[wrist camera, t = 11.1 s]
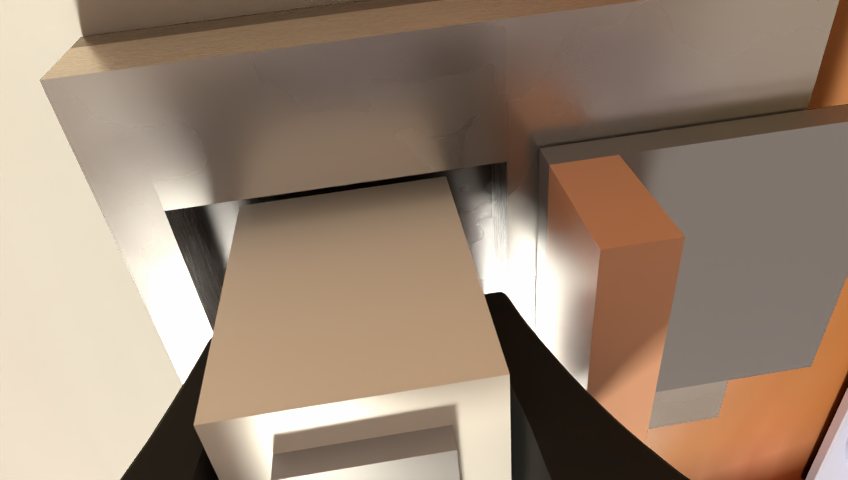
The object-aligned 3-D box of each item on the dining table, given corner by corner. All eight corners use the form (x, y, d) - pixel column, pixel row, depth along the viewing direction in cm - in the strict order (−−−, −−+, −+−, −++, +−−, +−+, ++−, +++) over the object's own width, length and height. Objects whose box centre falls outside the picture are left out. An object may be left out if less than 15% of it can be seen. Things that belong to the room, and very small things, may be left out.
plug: (446, 176, 12) (517, 398, 8) (457, 326, 15) (518, 565, 10) (239, 205, 12) (188, 452, 8) (284, 353, 14) (267, 610, 10)
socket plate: (774, -53, 12) (846, -27, 10) (682, 361, 18) (717, 417, 16) (81, 37, 11) (40, 79, 9) (244, 432, 17) (236, 498, 16)
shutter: (887, 98, 11) (1039, 182, 9) (795, 348, 15) (885, 454, 13) (539, 148, 11) (600, 249, 9) (534, 390, 15) (575, 508, 12)
